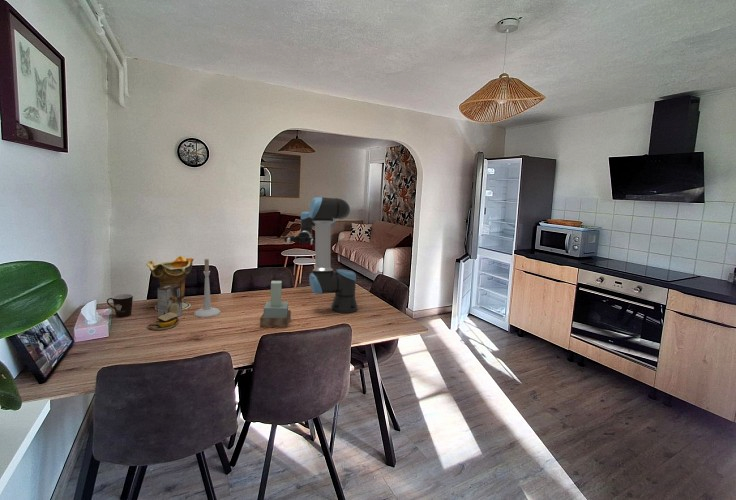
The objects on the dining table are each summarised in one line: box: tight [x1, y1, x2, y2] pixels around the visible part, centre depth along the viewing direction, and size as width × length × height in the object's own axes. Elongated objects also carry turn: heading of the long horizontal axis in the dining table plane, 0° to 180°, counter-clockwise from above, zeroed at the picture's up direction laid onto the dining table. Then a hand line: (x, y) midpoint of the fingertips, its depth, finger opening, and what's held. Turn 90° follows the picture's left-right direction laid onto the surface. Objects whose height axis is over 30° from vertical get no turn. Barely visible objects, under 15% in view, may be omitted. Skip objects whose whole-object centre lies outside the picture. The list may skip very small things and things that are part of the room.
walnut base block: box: [259, 309, 292, 328], centre depth 185 cm, size 13×13×5 cm
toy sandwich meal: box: [147, 312, 180, 331], centre depth 172 cm, size 12×14×5 cm
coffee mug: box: [106, 293, 134, 319], centre depth 183 cm, size 12×9×10 cm
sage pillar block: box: [270, 280, 283, 307], centre depth 182 cm, size 5×5×12 cm
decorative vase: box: [146, 255, 194, 311], centre depth 197 cm, size 21×23×28 cm
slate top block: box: [262, 300, 289, 318], centre depth 183 cm, size 11×11×5 cm
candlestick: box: [193, 258, 221, 318], centre depth 190 cm, size 13×13×30 cm
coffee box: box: [156, 284, 183, 318], centre depth 183 cm, size 9×6×16 cm
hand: (299, 241), depth 209 cm, fingers open, 13 cm apart
